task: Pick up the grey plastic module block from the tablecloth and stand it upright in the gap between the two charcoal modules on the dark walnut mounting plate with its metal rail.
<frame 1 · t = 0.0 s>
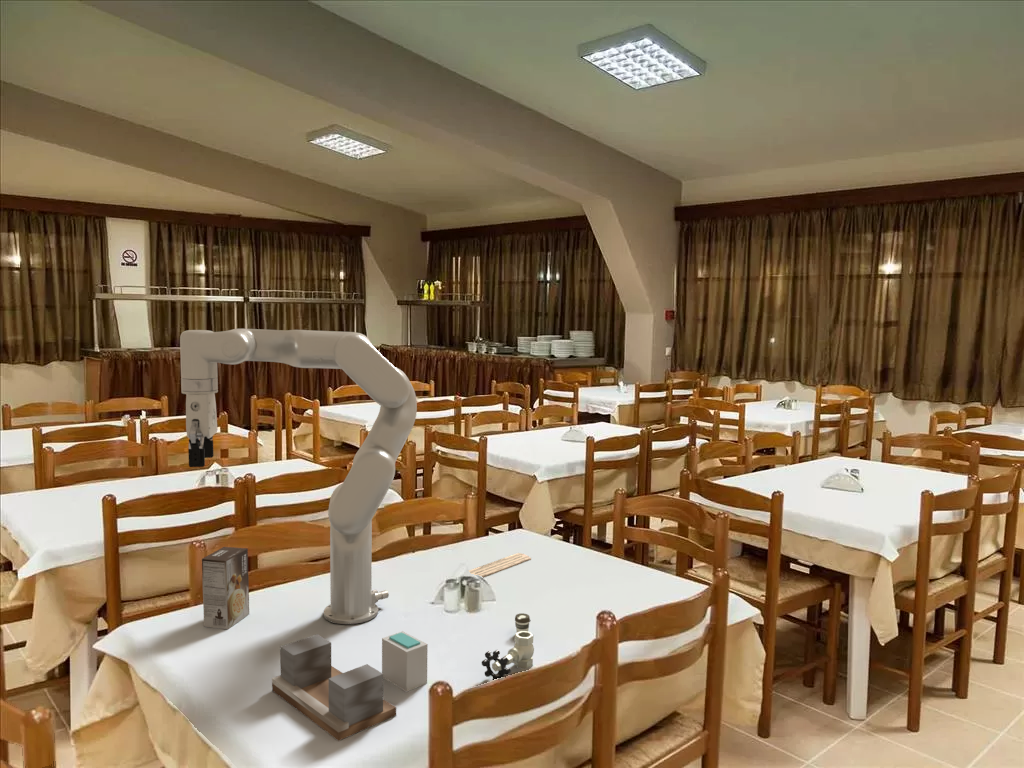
hand: (201, 461, 174), 37 cm above the table, tool pointing down, fingers open, 9 cm apart
striped wooden board: (494, 570, 219), on the table
mounting plate: (332, 702, 144), on the table
coffee box: (227, 621, 179), on the table
valve: (512, 673, 157), on the table
module block: (404, 680, 153), on the table
coffee cup: (521, 637, 175), on the table
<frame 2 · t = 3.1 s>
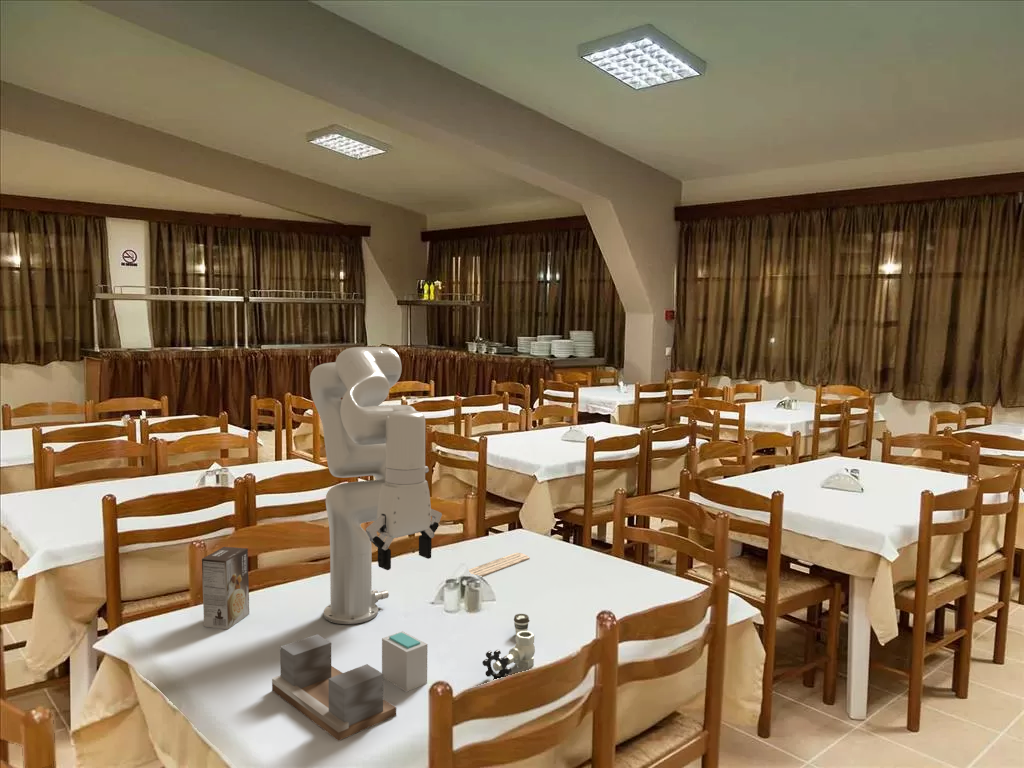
hand: (405, 562, 150), 24 cm above the table, tool pointing down, fingers open, 9 cm apart
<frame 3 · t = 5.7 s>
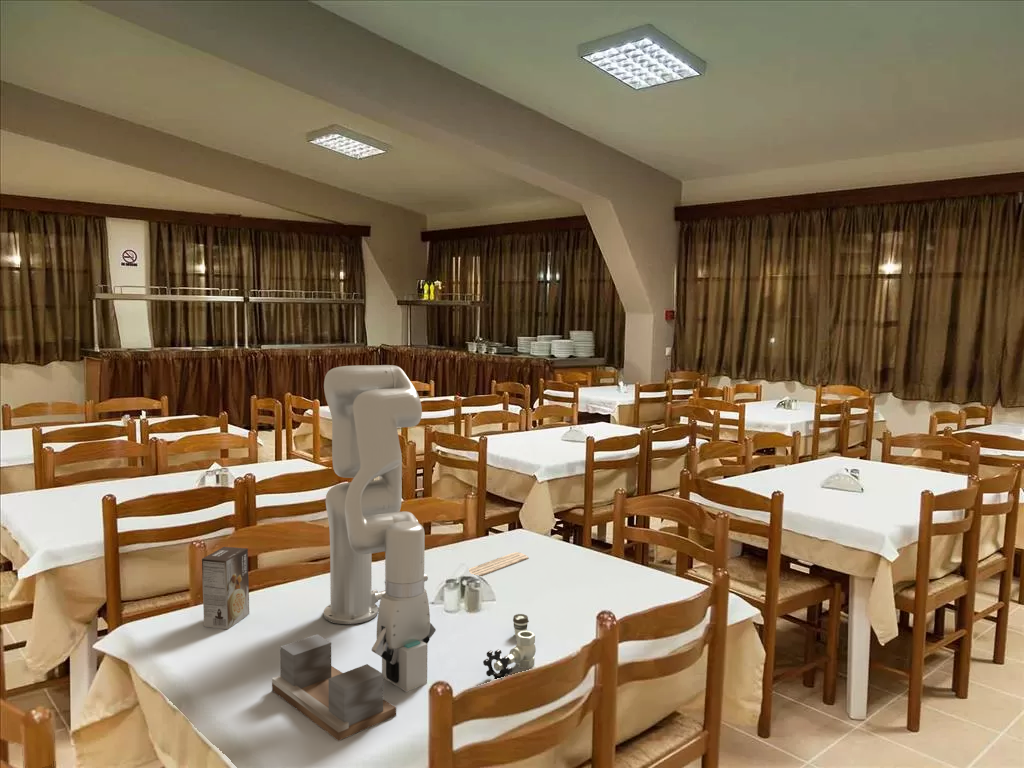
hand: (404, 674, 153), 1 cm above the table, tool pointing down, fingers closed on module block, 5 cm apart
module block: (404, 679, 153), on the table, touching gripper
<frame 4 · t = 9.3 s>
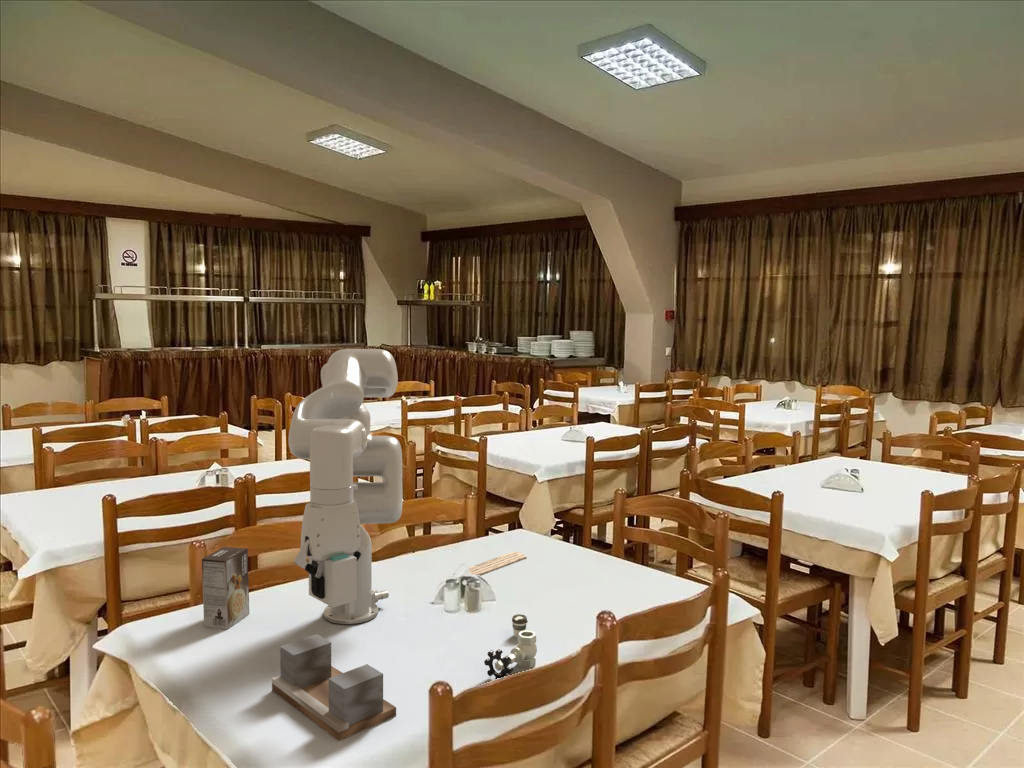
hand: (332, 591, 142), 21 cm above the table, tool pointing down, fingers closed on module block, 5 cm apart
module block: (332, 597, 142), point 20 cm above the table, touching gripper
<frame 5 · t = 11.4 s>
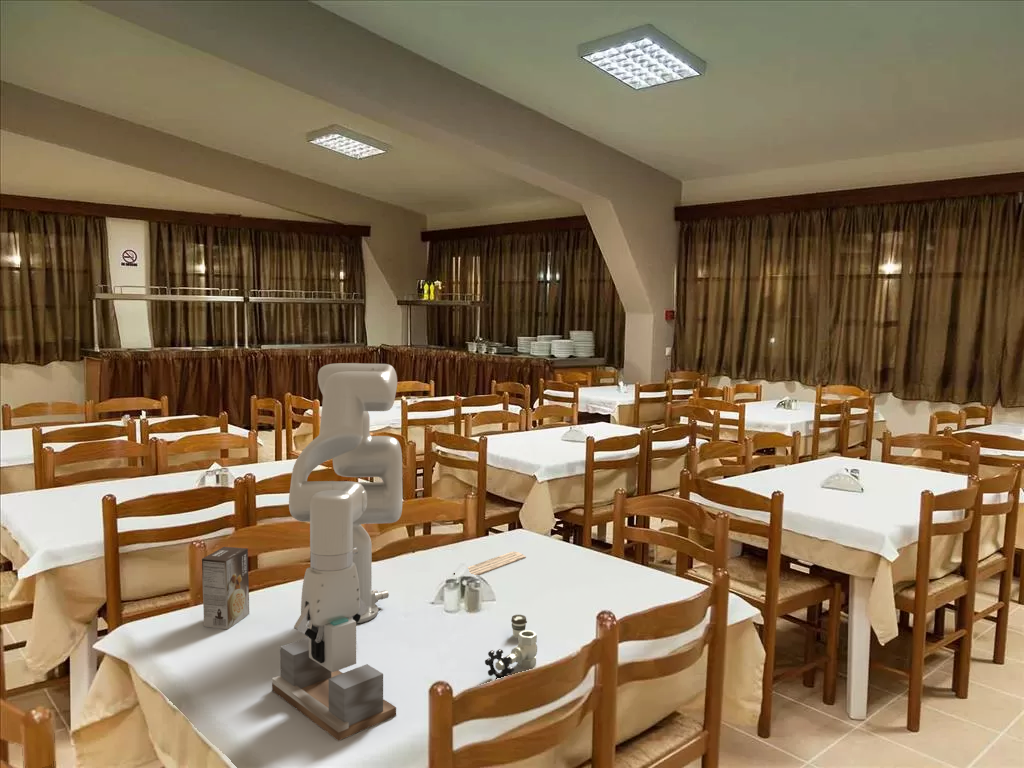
hand: (332, 654, 143), 9 cm above the table, tool pointing down, fingers closed on module block, 5 cm apart
module block: (332, 660, 143), point 8 cm above the table, touching gripper
when the fingers open (4 cm above the table, at t = 12.9 s): module block drops 2 cm, resting on mounting plate.
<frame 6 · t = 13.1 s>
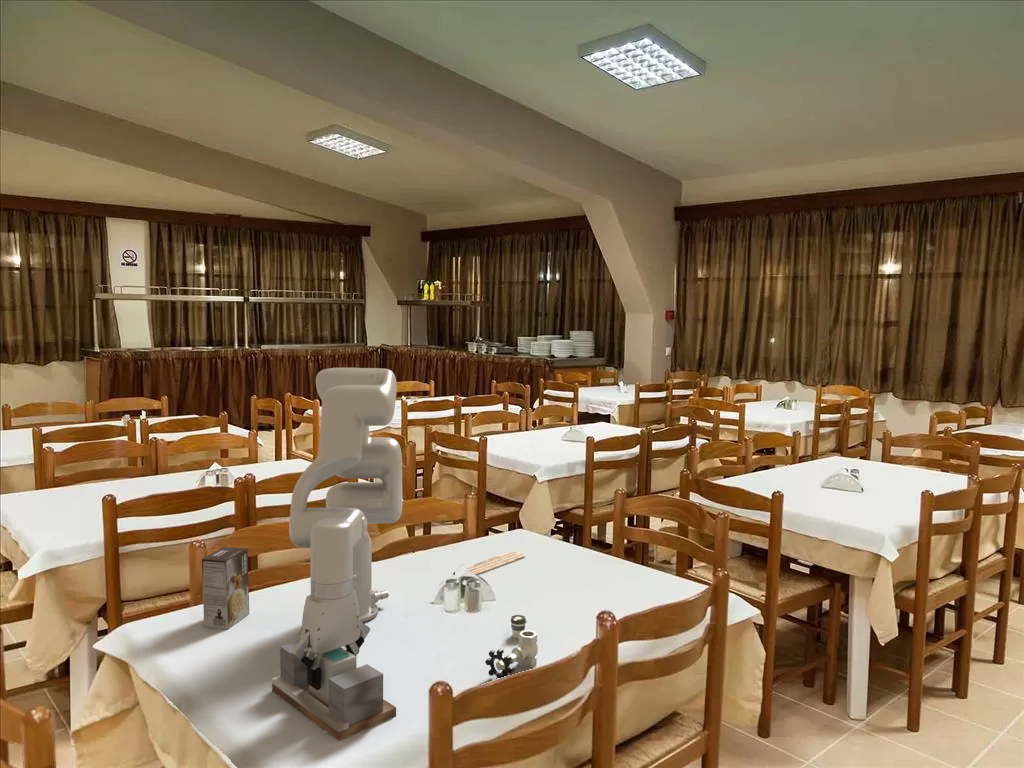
hand: (332, 679, 144), 4 cm above the table, tool pointing down, fingers open, 6 cm apart
module block: (332, 694, 144), point 1 cm above the table, touching mounting plate
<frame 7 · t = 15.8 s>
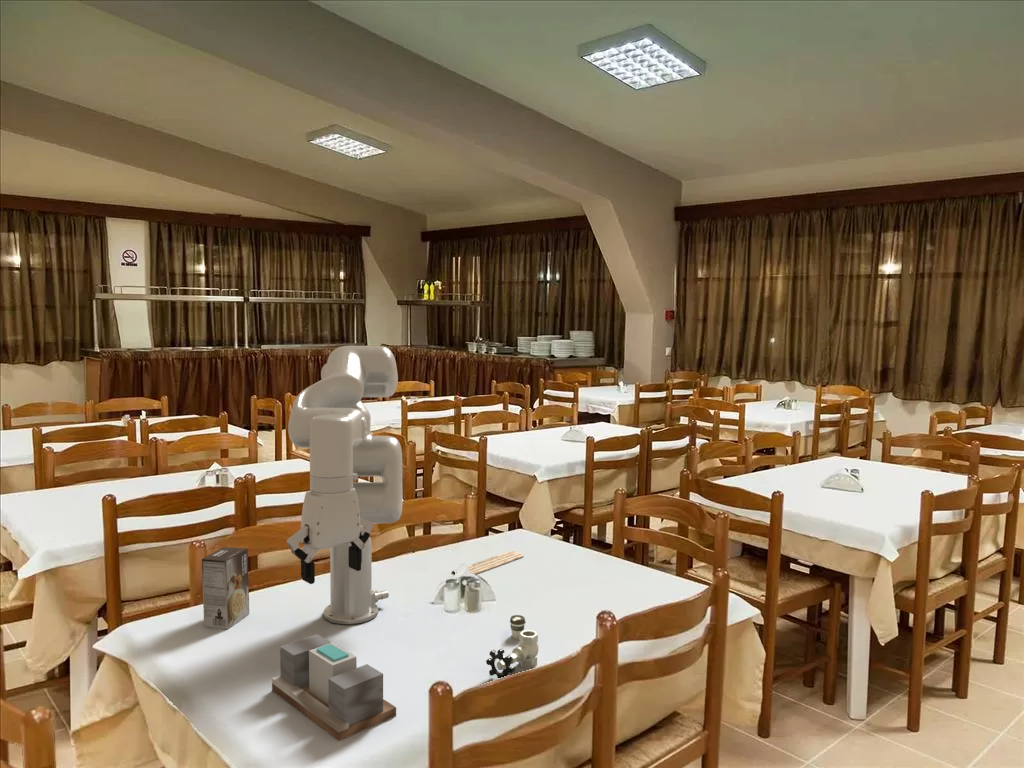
hand: (332, 575, 142), 24 cm above the table, tool pointing down, fingers open, 9 cm apart
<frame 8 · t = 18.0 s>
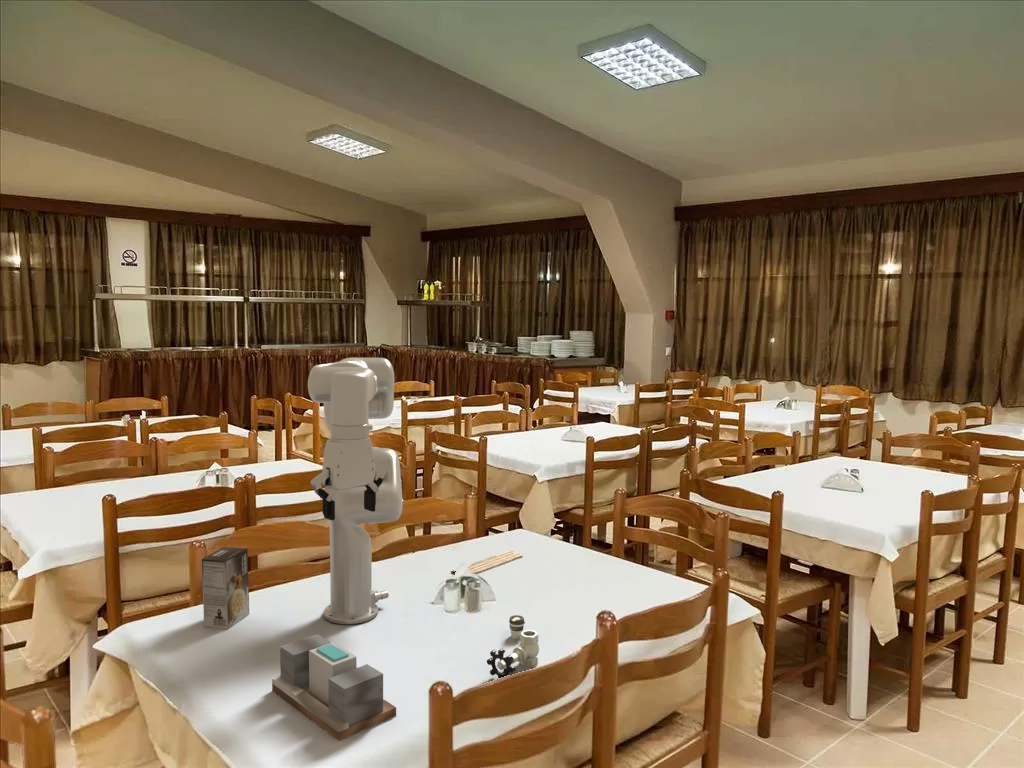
hand: (349, 514, 160), 30 cm above the table, tool pointing down, fingers open, 9 cm apart
at the end: module block 0.1 cm off-centre on the mounting plate, point 1.5 cm above the mounting plate's base; module block tilted 0°; the gripper is holding nothing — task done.
